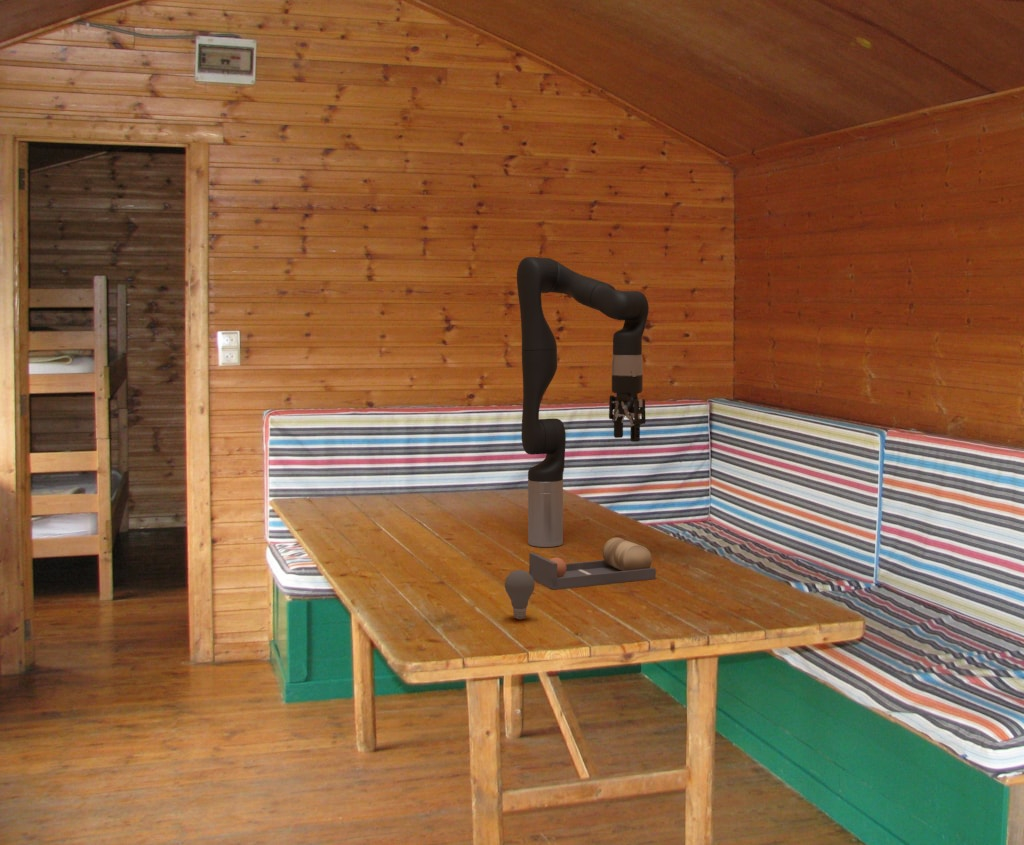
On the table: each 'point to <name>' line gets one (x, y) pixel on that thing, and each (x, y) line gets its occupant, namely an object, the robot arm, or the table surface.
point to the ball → (559, 566)
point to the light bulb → (519, 591)
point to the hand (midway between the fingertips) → (626, 439)
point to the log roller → (626, 555)
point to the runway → (582, 573)
